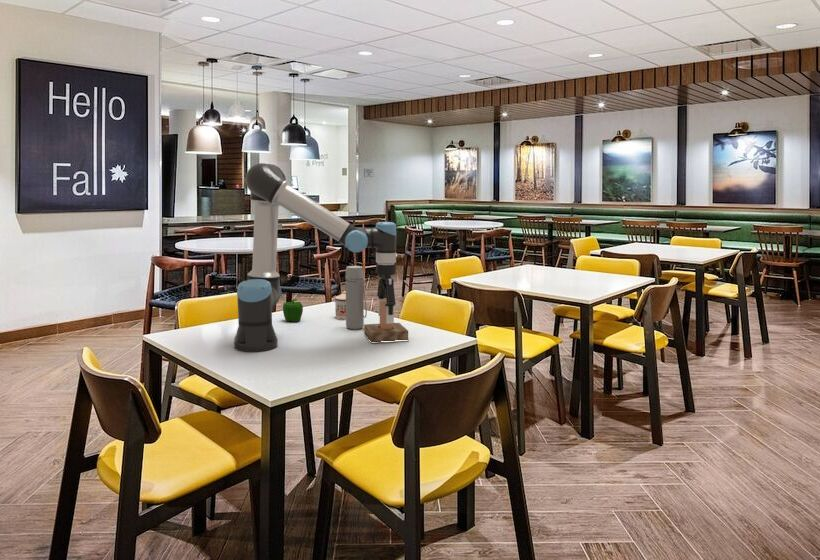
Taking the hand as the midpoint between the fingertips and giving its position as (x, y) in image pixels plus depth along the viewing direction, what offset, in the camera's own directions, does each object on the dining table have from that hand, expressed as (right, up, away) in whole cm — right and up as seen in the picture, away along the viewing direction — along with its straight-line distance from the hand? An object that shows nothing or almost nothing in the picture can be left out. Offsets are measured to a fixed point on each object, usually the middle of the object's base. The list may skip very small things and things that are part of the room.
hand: (385, 319), depth 235 cm
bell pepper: (-40, -3, +28) cm, 49 cm away
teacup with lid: (-18, -2, +35) cm, 40 cm away
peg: (0, -7, +1) cm, 7 cm away
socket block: (0, -7, +1) cm, 7 cm away
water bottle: (-12, -5, +16) cm, 21 cm away
